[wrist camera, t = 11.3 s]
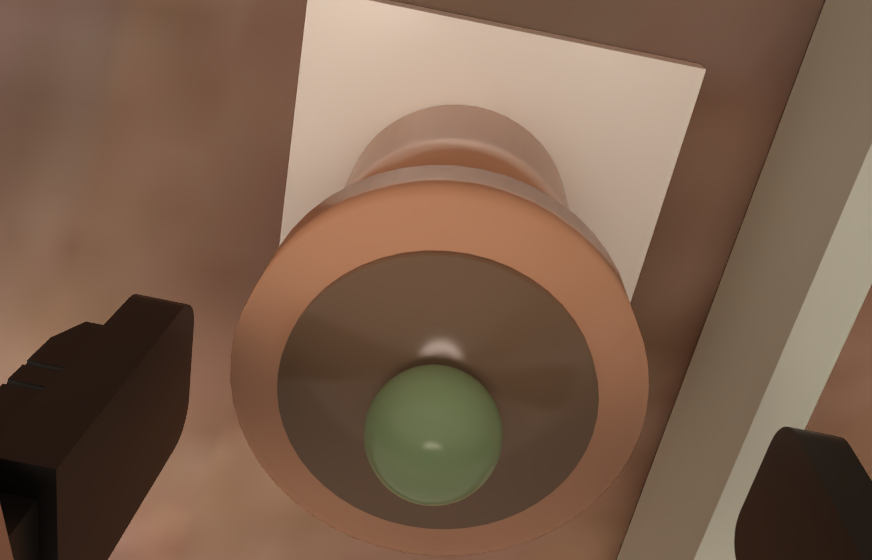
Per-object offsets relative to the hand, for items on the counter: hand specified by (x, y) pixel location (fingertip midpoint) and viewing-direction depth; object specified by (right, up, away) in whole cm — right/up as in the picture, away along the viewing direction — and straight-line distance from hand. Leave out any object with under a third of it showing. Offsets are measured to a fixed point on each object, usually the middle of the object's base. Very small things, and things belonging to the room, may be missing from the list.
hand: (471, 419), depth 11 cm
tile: (0, +4, +7) cm, 8 cm away
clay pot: (0, +3, +7) cm, 8 cm away
